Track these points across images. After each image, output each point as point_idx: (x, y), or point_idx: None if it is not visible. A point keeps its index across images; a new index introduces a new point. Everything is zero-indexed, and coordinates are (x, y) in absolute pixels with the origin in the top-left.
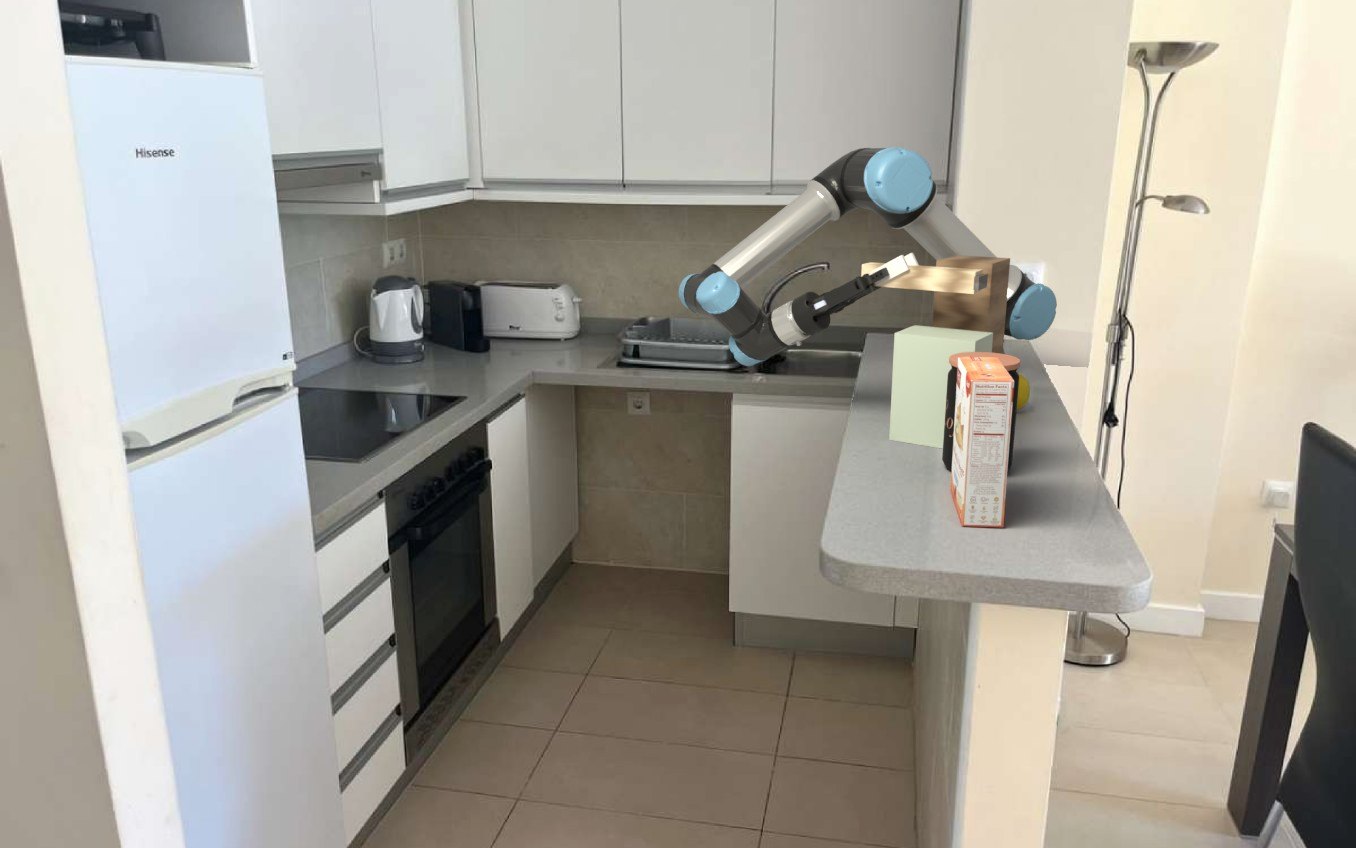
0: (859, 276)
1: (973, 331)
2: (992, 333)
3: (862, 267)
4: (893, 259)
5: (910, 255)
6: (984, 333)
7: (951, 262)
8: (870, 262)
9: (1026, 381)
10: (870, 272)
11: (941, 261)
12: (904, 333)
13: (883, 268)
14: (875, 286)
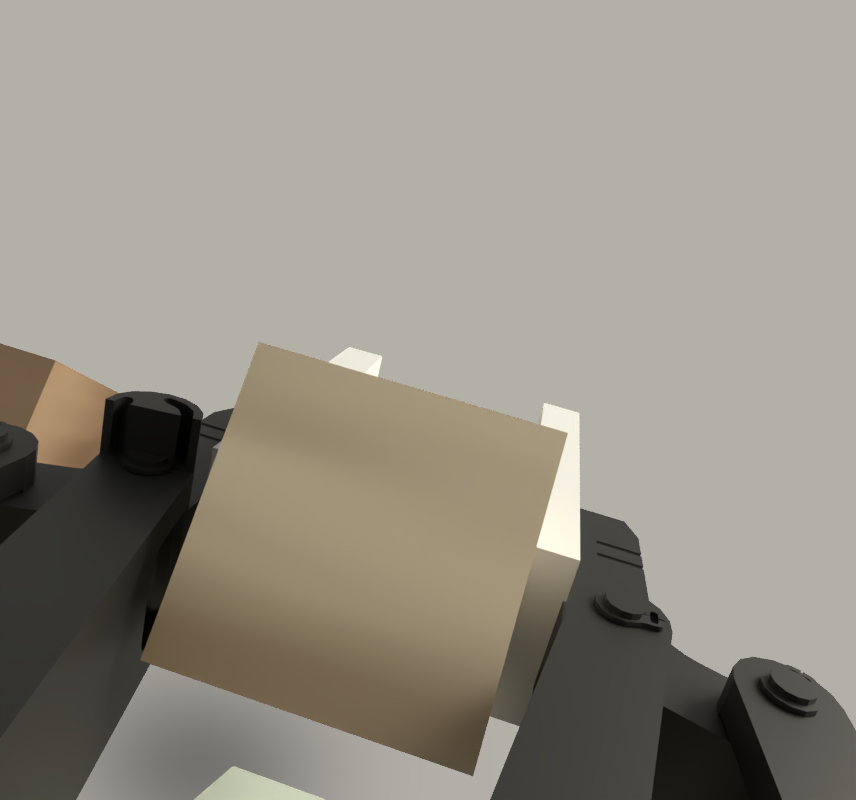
0: (793, 671)
1: (220, 797)
2: (241, 771)
3: (553, 483)
4: (578, 439)
5: (376, 375)
6: (262, 787)
7: (105, 394)
8: (283, 352)
9: None
10: (576, 564)
11: (72, 375)
12: None
13: (626, 528)
14: (123, 696)
